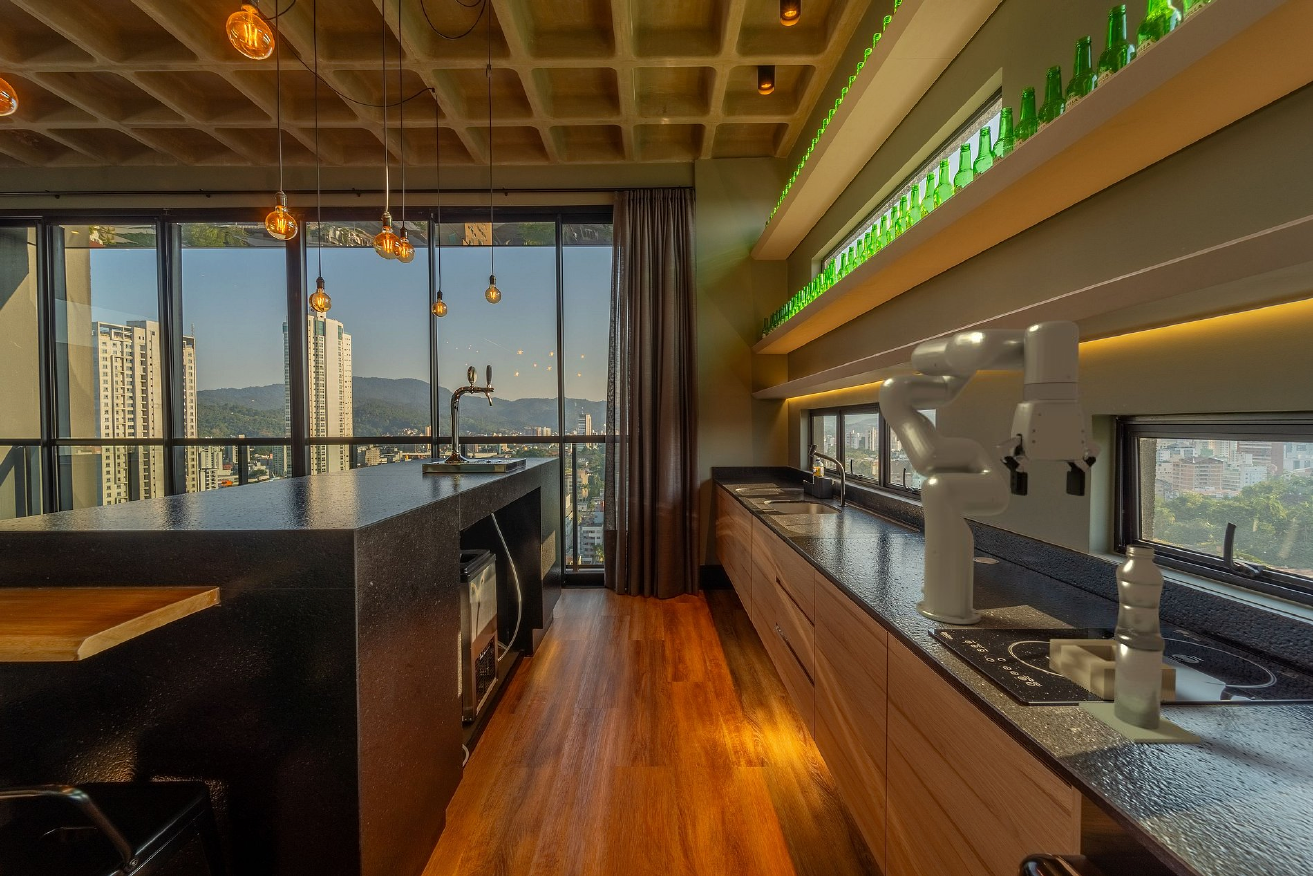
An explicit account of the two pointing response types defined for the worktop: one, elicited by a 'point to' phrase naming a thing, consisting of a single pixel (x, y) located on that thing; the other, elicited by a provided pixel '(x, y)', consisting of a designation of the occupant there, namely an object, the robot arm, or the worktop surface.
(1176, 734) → the mat
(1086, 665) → the tan square frame
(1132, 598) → the plastic bottle
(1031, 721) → the worktop surface
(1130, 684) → the grey cylindrical piece
